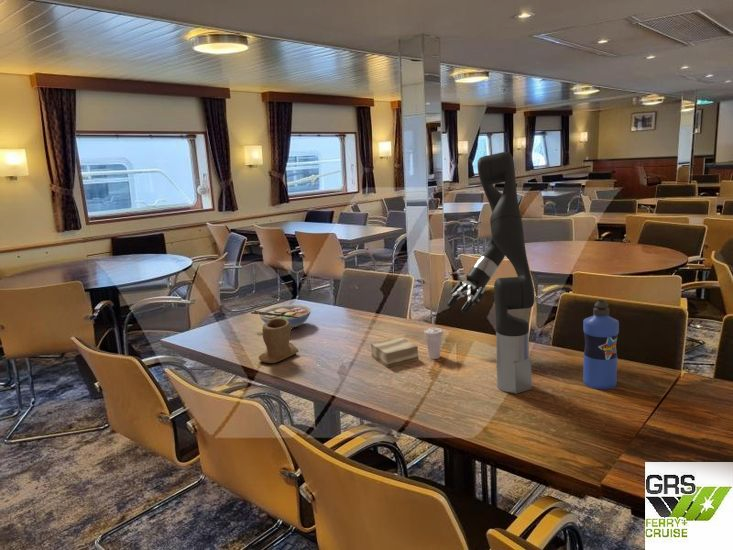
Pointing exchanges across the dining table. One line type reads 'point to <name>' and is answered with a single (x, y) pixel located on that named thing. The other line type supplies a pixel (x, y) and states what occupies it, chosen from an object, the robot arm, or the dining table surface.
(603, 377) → the water bottle
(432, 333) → the smoothie
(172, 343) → the dining table surface
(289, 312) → the ramen bowl
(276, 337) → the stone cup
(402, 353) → the low rectangular block
